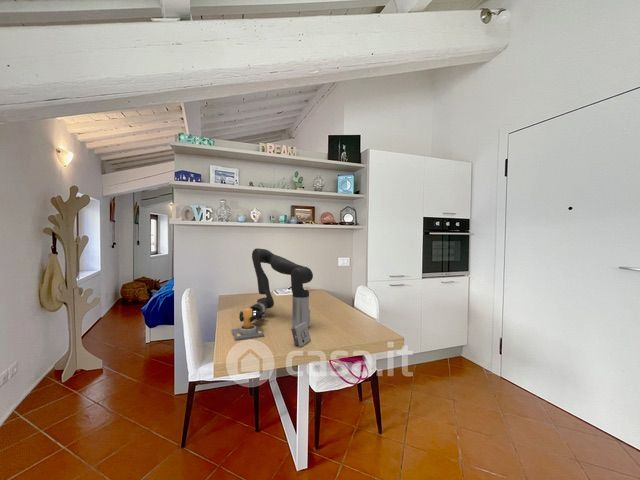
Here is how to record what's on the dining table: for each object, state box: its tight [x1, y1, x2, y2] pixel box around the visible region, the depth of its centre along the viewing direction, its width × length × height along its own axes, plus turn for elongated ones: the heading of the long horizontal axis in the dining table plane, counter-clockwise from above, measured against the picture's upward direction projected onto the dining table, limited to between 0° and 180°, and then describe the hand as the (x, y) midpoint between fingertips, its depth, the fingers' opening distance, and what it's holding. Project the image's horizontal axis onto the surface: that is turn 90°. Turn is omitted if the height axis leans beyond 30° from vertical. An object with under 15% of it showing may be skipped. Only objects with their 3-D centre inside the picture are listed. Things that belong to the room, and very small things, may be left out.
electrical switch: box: [291, 322, 312, 348], centre depth 130 cm, size 9×5×9 cm, turn 152°
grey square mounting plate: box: [231, 324, 265, 342], centre depth 140 cm, size 14×14×4 cm
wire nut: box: [242, 307, 253, 329], centre depth 140 cm, size 4×4×11 cm
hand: (245, 319), depth 138 cm, fingers closed on wire nut, 4 cm apart
